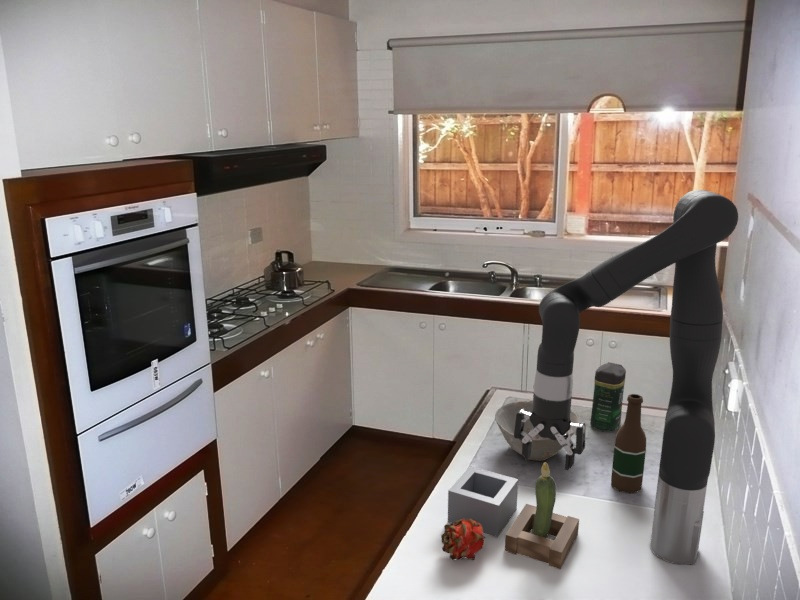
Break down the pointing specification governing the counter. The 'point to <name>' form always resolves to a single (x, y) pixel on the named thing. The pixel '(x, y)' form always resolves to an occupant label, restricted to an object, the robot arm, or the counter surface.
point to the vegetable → (544, 502)
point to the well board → (542, 538)
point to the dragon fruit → (463, 539)
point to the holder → (483, 499)
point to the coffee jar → (608, 397)
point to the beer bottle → (629, 450)
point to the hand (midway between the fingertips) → (547, 463)
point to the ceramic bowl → (540, 445)
